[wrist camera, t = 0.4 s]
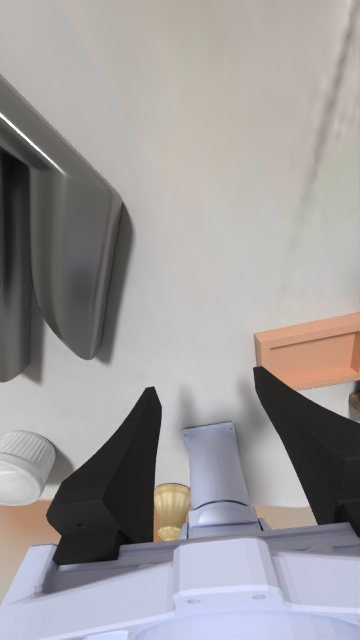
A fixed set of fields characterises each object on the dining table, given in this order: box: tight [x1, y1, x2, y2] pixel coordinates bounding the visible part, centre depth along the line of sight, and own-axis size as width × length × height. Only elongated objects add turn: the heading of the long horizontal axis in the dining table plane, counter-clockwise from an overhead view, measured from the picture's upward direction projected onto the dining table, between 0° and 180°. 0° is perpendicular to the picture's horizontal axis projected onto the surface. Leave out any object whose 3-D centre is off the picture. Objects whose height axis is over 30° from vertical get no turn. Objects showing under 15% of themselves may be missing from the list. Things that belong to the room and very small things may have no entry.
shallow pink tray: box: [254, 312, 360, 391], centre depth 22 cm, size 8×12×2 cm, turn 104°
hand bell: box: [154, 483, 191, 541], centre depth 29 cm, size 8×8×16 cm
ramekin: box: [0, 430, 56, 506], centre depth 29 cm, size 11×11×5 cm
